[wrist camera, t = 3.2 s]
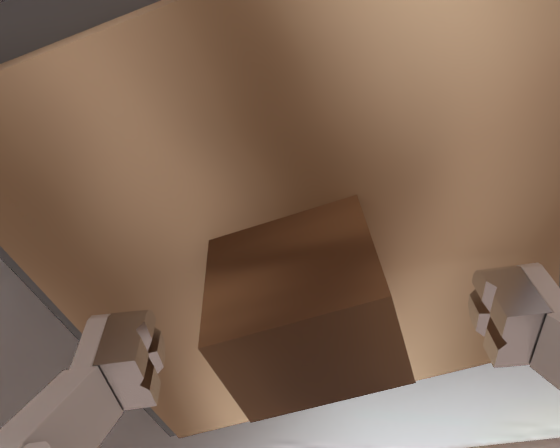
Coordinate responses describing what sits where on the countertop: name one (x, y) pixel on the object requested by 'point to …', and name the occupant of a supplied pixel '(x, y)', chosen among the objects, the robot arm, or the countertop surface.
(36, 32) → the mat
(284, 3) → the lid
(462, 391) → the countertop surface
